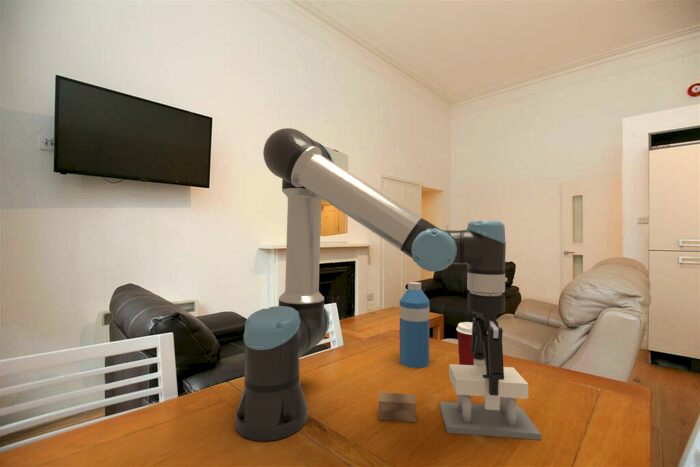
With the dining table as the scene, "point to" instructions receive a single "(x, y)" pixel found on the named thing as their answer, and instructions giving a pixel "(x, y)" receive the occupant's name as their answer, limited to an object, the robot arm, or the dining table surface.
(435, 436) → the dining table surface
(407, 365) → the water bottle
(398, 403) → the riser block
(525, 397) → the shelf board
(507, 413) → the peg stand
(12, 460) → the dining table surface
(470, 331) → the coffee cup
